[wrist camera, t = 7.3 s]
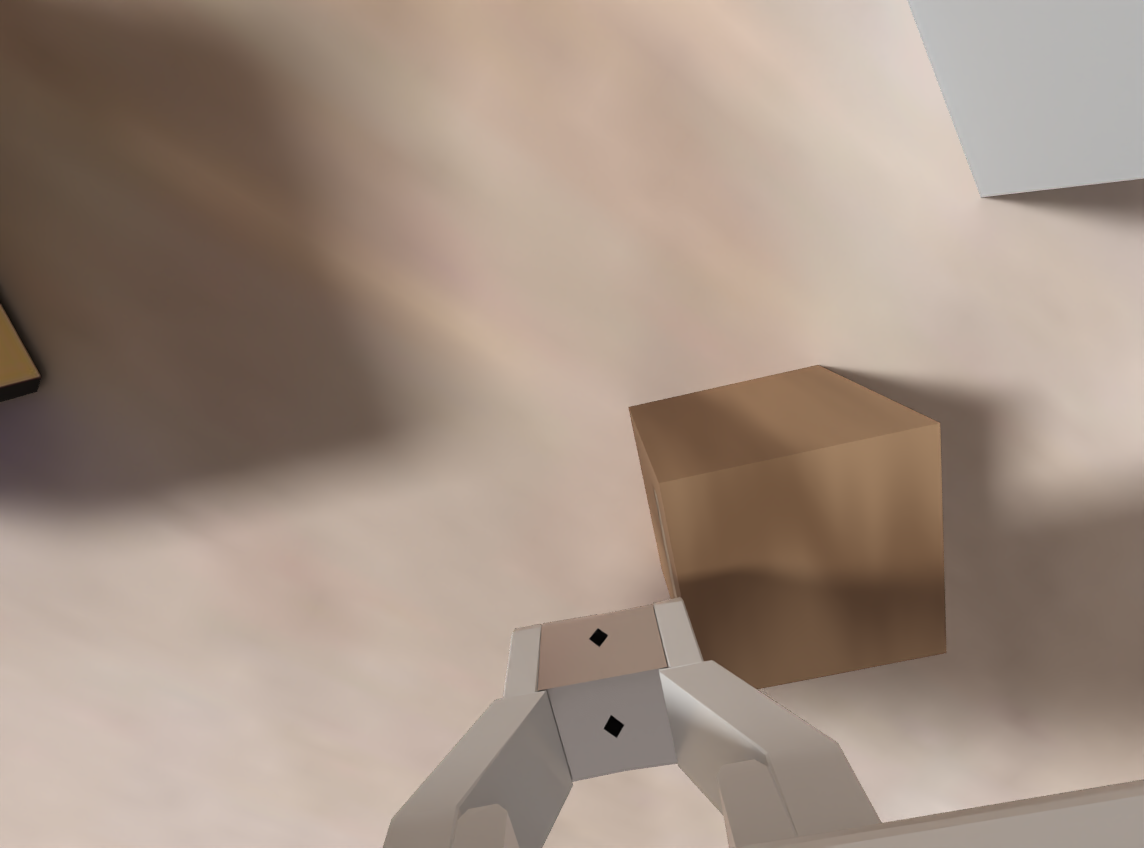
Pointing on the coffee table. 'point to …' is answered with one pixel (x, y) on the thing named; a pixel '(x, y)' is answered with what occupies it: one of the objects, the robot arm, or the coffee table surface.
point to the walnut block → (798, 523)
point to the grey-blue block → (1040, 88)
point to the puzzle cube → (15, 363)
